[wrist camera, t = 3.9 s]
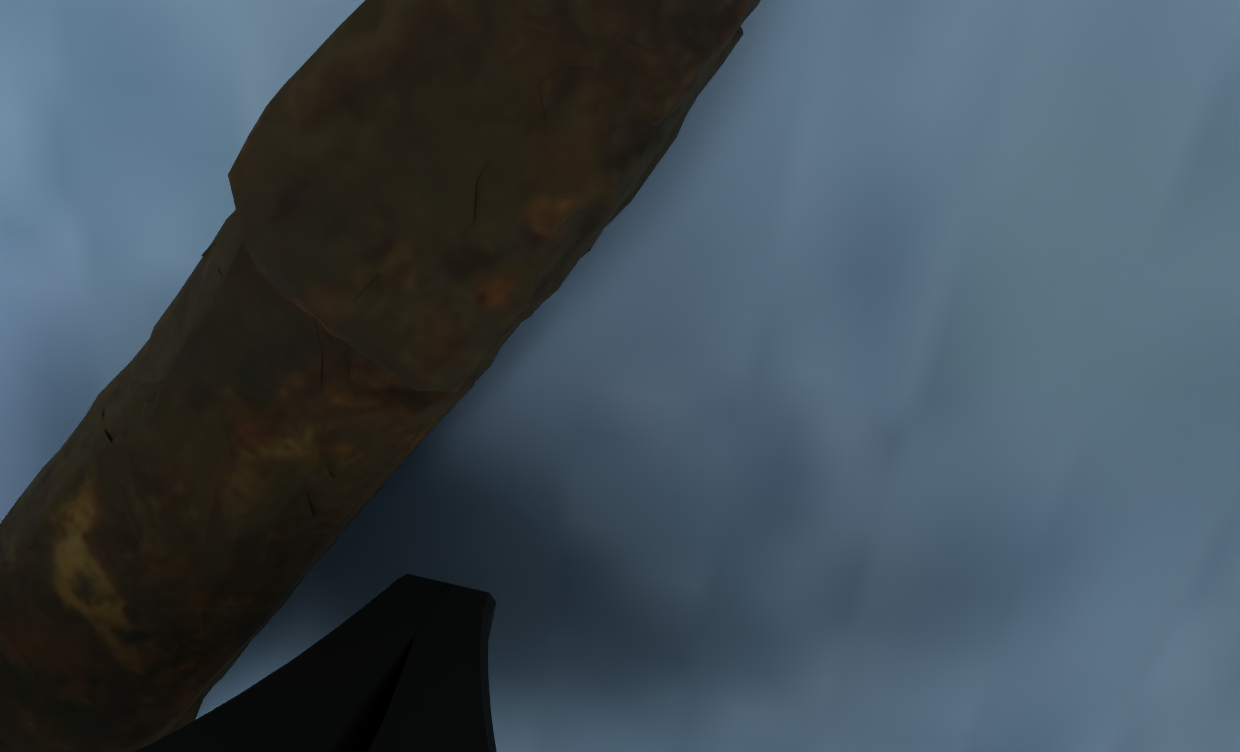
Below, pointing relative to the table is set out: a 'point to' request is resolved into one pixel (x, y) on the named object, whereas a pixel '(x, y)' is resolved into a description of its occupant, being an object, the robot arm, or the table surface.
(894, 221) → the table surface
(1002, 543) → the table surface
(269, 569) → the dark brown rod
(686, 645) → the table surface
